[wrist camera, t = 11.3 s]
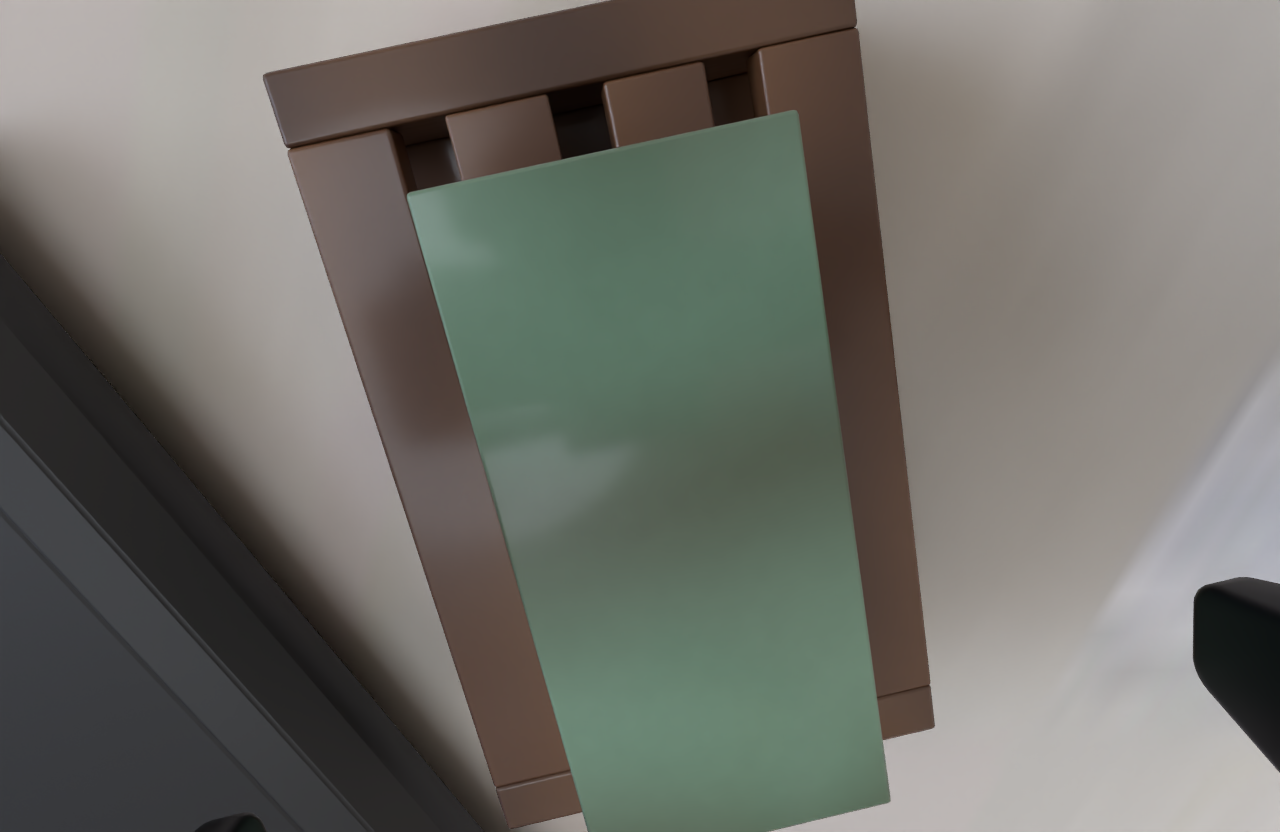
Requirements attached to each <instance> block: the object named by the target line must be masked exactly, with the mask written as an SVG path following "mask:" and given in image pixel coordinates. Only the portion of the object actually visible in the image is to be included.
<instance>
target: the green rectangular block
mask: <svg viewBox="0 0 1280 832" xmlns="http://www.w3.org/2000/svg"><path fill="white" fill-rule="evenodd" d="M407 201H408V204H409V208H410V211H411V215H412V218H413V222H414V225H415V229H416V232H417V236H418V239H419V243H420V246H421V250H422V253H423V257H424V260H425V264H426V267H427V271H428V274H429V278H430V281H431V285H432V288H433V292H434V295H435V299H436V302H437V306H438V309H439V313H440V316H441V320H442V323H443V327H444V330H445V333H446V337H447V340H448V344H449V347H450V351H451V354H452V358H453V361H454V365H455V368H456V372H457V375H458V379H459V382H460V386H461V389H462V393H463V396H464V400H465V403H466V407H467V410H468V414H469V417H470V421H471V424H472V428H473V431H474V435H475V438H476V442H477V445H478V449H479V452H480V456H481V459H482V463H483V466H484V470H485V473H486V477H487V480H488V484H489V487H490V491H491V494H492V498H493V501H494V505H495V508H496V512H497V515H498V519H499V522H500V526H501V529H502V533H503V536H504V540H505V543H506V547H507V550H508V554H509V557H510V561H511V564H512V568H513V571H514V574H515V578H516V581H517V585H518V588H519V592H520V595H521V599H522V602H523V606H524V609H525V613H526V616H527V620H528V623H529V627H530V630H531V634H532V637H533V641H534V644H535V648H536V651H537V655H538V658H539V662H540V665H541V669H542V672H543V676H544V679H545V683H546V686H547V690H548V693H549V697H550V700H551V704H552V707H553V711H554V714H555V718H556V721H557V725H558V728H559V732H560V735H561V739H562V742H563V746H564V749H565V753H566V756H567V760H568V763H569V767H570V770H571V774H572V777H573V781H574V784H575V788H576V791H577V795H578V798H579V802H580V805H581V808H582V812H583V815H584V819H585V822H586V826H587V829H588V832H769V831H773V830H777V829H781V828H786V827H790V826H794V825H798V824H802V823H806V822H811V821H815V820H819V819H823V818H827V817H831V816H836V815H840V814H844V813H848V812H852V811H857V810H861V809H865V808H869V807H873V806H877V805H882V804H886V803H889V802H890V791H889V784H888V776H887V769H886V761H885V754H884V747H883V739H882V732H881V724H880V717H879V709H878V702H877V694H876V687H875V679H874V672H873V665H872V657H871V650H870V642H869V635H868V627H867V620H866V612H865V605H864V598H863V590H862V583H861V575H860V568H859V560H858V553H857V545H856V538H855V531H854V523H853V516H852V508H851V501H850V493H849V486H848V478H847V471H846V463H845V456H844V449H843V441H842V434H841V426H840V419H839V411H838V404H837V396H836V389H835V382H834V374H833V367H832V359H831V352H830V344H829V337H828V329H827V322H826V315H825V307H824V300H823V292H822V285H821V277H820V270H819V262H818V255H817V248H816V240H815V233H814V225H813V218H812V210H811V203H810V195H809V188H808V180H807V173H806V166H805V158H804V151H803V143H802V136H801V128H800V121H799V114H798V112H797V111H796V110H790V111H785V112H781V113H776V114H771V115H767V116H762V117H757V118H753V119H748V120H744V121H739V122H734V123H730V124H725V125H720V126H716V127H711V128H706V129H702V130H697V131H692V132H688V133H683V134H678V135H674V136H669V137H664V138H660V139H655V140H650V141H646V142H641V143H636V144H632V145H627V146H622V147H618V148H613V149H608V150H604V151H599V152H594V153H590V154H585V155H580V156H576V157H571V158H566V159H562V160H557V161H552V162H548V163H543V164H538V165H534V166H529V167H524V168H520V169H515V170H511V171H506V172H501V173H497V174H492V175H487V176H483V177H478V178H473V179H469V180H464V181H459V182H455V183H450V184H445V185H441V186H436V187H431V188H427V189H422V190H417V191H413V192H409V193H408V194H407Z"/></svg>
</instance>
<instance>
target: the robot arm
mask: <svg viewBox="0 0 1280 832" xmlns="http://www.w3.org/2000/svg"><path fill="white" fill-rule="evenodd" d="M1193 661H1194V665H1195V669H1196V671H1197V674H1198V676H1199V678H1200V680H1201V681H1202V683H1203V684H1204V686H1205V687H1206V688H1207V690H1208V691H1209V692H1210V693H1211V694H1212V695H1213V697H1214V698H1215V699H1216V700H1217V701H1218V702H1219V703H1220V705H1221V706H1222V707H1223V708H1224V709H1225V710H1226V712H1227V713H1228V714H1229V715H1230V716H1231V717H1232V718H1233V720H1234V721H1235V722H1236V723H1237V724H1238V725H1239V726H1240V728H1241V729H1242V730H1243V731H1244V732H1245V733H1246V734H1247V736H1248V737H1249V738H1250V739H1251V740H1252V741H1253V742H1254V744H1255V745H1256V746H1257V747H1258V748H1259V749H1260V750H1261V752H1262V753H1263V754H1264V755H1265V756H1266V757H1267V758H1268V760H1269V761H1270V762H1271V763H1272V764H1273V765H1274V766H1275V768H1276V769H1277V770H1278V771H1279V772H1280V584H1278V583H1273V582H1269V581H1264V580H1259V579H1255V578H1249V577H1238V578H1233V579H1229V580H1225V581H1220V582H1216V583H1212V584H1208V585H1205V586H1203V587H1202V588H1200V589H1199V590H1198V591H1197V593H1196V595H1195V597H1194V613H1193ZM194 832H267V831H266V829H265V826H264V824H263V822H262V821H261V819H260V818H259V817H258V816H257V815H256V814H254V813H250V812H244V813H239V814H235V815H231V816H227V817H222V818H218V819H214V820H211V821H208V822H206V823H204V824H203V825H201V826H200V827H199V828H198V829H196V830H195V831H194Z"/></svg>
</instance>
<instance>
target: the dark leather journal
mask: <svg viewBox="0 0 1280 832" xmlns="http://www.w3.org/2000/svg"><path fill="white" fill-rule="evenodd" d="M244 812H250V813H254V814H256V815H257V816H258V817H259V818H260V819H261V821H262V822H263V824H264V826H265V829H266V831H267V832H484V831H483V830H482V829H481V827H480V826H479V825H478V824H477V823H476V821H475V820H474V819H473V818H472V817H471V816H470V814H469V813H468V812H467V811H466V810H465V808H464V807H463V806H462V805H461V804H460V802H459V801H458V800H457V799H456V798H455V796H454V795H453V794H452V793H451V792H450V790H449V789H448V788H447V787H446V786H445V784H444V783H443V782H442V781H441V780H440V778H439V777H438V776H437V775H436V774H435V772H434V771H433V770H432V769H431V768H430V767H429V765H428V764H427V763H426V762H425V761H424V759H423V758H422V757H421V756H420V755H419V753H418V752H417V751H416V750H415V749H414V747H413V746H412V745H411V744H410V743H409V741H408V740H407V739H406V738H405V737H404V735H403V734H402V733H401V732H400V731H399V729H398V728H397V727H396V726H395V725H394V723H393V722H392V721H391V720H390V719H389V718H388V716H387V715H386V714H385V713H384V712H383V710H382V709H381V708H380V707H379V706H378V704H377V703H376V702H375V701H374V700H373V698H372V697H371V696H370V695H369V694H368V692H367V691H366V690H365V689H364V688H363V686H362V685H361V684H360V683H359V682H358V680H357V679H356V678H355V677H354V676H353V674H352V673H351V672H350V671H349V670H348V669H347V667H346V666H345V665H344V664H343V663H342V661H341V660H340V659H339V658H338V657H337V655H336V654H335V653H334V652H333V651H332V649H331V648H330V647H329V646H328V645H327V643H326V642H325V641H324V640H323V639H322V637H321V636H320V635H319V634H318V633H317V631H316V630H315V629H314V628H313V627H312V625H311V624H310V623H309V622H308V621H307V619H306V618H305V617H304V616H303V615H302V613H301V612H300V611H299V610H298V609H297V608H296V606H295V605H294V604H293V603H292V602H291V600H290V599H289V598H288V597H287V596H286V594H285V593H284V592H283V591H282V590H281V588H280V587H279V586H278V585H277V584H276V582H275V581H274V580H273V579H272V578H271V576H270V575H269V574H268V573H267V572H266V570H265V569H264V568H263V567H262V566H261V564H260V563H259V562H258V561H257V560H256V558H255V557H254V556H253V555H252V554H251V553H250V551H249V550H248V549H247V548H246V547H245V545H244V544H243V543H242V542H241V541H240V539H239V538H238V537H237V536H236V535H235V533H234V532H233V531H232V530H231V529H230V527H229V526H228V525H227V524H226V523H225V521H224V520H223V519H222V518H221V517H220V515H219V514H218V513H217V512H216V511H215V509H214V508H213V507H212V506H211V505H210V503H209V502H208V501H207V500H206V499H205V497H204V496H203V495H202V494H201V493H200V492H199V490H198V489H197V488H196V487H195V486H194V484H193V483H192V482H191V481H190V480H189V478H188V477H187V476H186V475H185V474H184V472H183V471H182V470H181V469H180V468H179V466H178V465H177V464H176V463H175V462H174V460H173V459H172V458H171V457H170V456H169V454H168V453H167V452H166V451H165V450H164V448H163V447H162V446H161V445H160V444H159V442H158V441H157V440H156V439H155V438H154V437H153V435H152V434H151V433H150V432H149V431H148V429H147V428H146V427H145V426H144V425H143V423H142V422H141V421H140V420H139V419H138V417H137V416H136V415H135V414H134V413H133V411H132V410H131V409H130V408H129V407H128V405H127V404H126V403H125V402H124V401H123V399H122V398H121V397H120V396H119V395H118V393H117V392H116V391H115V390H114V389H113V387H112V386H111V385H110V384H109V383H108V381H107V380H106V379H105V378H104V377H103V376H102V374H101V373H100V372H99V371H98V370H97V368H96V367H95V366H94V365H93V364H92V362H91V361H90V360H89V359H88V358H87V356H86V355H85V354H84V353H83V352H82V350H81V349H80V348H79V347H78V346H77V344H76V343H75V342H74V341H73V340H72V338H71V337H70V336H69V335H68V334H67V332H66V331H65V330H64V329H63V328H62V326H61V325H60V324H59V323H58V322H57V321H56V319H55V318H54V317H53V316H52V315H51V313H50V312H49V311H48V310H47V309H46V307H45V306H44V305H43V304H42V303H41V301H40V300H39V299H38V298H37V297H36V295H35V294H34V293H33V292H32V291H31V289H30V288H29V287H28V286H27V285H26V283H25V282H24V281H23V280H22V279H21V277H20V276H19V275H18V274H17V273H16V271H15V270H14V269H13V268H12V267H11V265H10V264H9V263H8V262H7V261H6V260H5V258H4V257H3V256H2V255H1V254H0V832H194V831H195V830H196V829H198V828H199V827H200V826H201V825H203V824H204V823H206V822H208V821H211V820H214V819H218V818H222V817H227V816H231V815H235V814H239V813H244Z"/></svg>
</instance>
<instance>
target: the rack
mask: <svg viewBox="0 0 1280 832" xmlns="http://www.w3.org/2000/svg"><path fill="white" fill-rule="evenodd" d="M856 24H857V17H856V8H855V0H609V1H604V2H599V3H595V4H590V5H585V6H580V7H576V8H571V9H566V10H562V11H557V12H552V13H547V14H543V15H538V16H533V17H528V18H524V19H519V20H514V21H509V22H505V23H500V24H495V25H491V26H486V27H481V28H476V29H472V30H467V31H462V32H457V33H453V34H448V35H443V36H438V37H434V38H429V39H424V40H420V41H415V42H410V43H405V44H401V45H396V46H391V47H386V48H382V49H377V50H372V51H368V52H363V53H358V54H353V55H349V56H344V57H339V58H334V59H330V60H325V61H320V62H315V63H311V64H306V65H301V66H297V67H292V68H287V69H282V70H278V71H273V72H268V73H266V74H264V75H263V81H264V84H265V87H266V90H267V93H268V96H269V99H270V102H271V105H272V108H273V111H274V114H275V117H276V120H277V123H278V126H279V129H280V132H281V136H282V139H283V142H284V144H285V146H286V147H287V148H291V149H290V150H288V157H289V160H290V163H291V166H292V169H293V172H294V175H295V178H296V181H297V184H298V188H299V191H300V194H301V197H302V200H303V203H304V206H305V209H306V212H307V215H308V218H309V221H310V224H311V227H312V230H313V233H314V236H315V239H316V243H317V246H318V249H319V252H320V255H321V258H322V261H323V264H324V267H325V270H326V273H327V276H328V279H329V282H330V285H331V288H332V291H333V294H334V297H335V301H336V304H337V307H338V310H339V313H340V316H341V319H342V322H343V325H344V328H345V331H346V334H347V337H348V340H349V343H350V346H351V349H352V352H353V355H354V359H355V362H356V365H357V368H358V371H359V374H360V377H361V380H362V383H363V386H364V389H365V392H366V395H367V398H368V401H369V404H370V407H371V410H372V414H373V417H374V420H375V423H376V426H377V429H378V432H379V435H380V438H381V441H382V444H383V447H384V450H385V453H386V456H387V459H388V462H389V465H390V468H391V472H392V475H393V478H394V481H395V484H396V487H397V490H398V493H399V496H400V499H401V502H402V505H403V508H404V511H405V514H406V517H407V520H408V523H409V527H410V530H411V533H412V536H413V539H414V542H415V545H416V548H417V551H418V554H419V557H420V560H421V563H422V566H423V569H424V572H425V575H426V578H427V581H428V585H429V588H430V591H431V594H432V597H433V600H434V603H435V606H436V609H437V612H438V615H439V618H440V621H441V624H442V627H443V630H444V633H445V636H446V639H447V643H448V646H449V649H450V652H451V655H452V658H453V661H454V664H455V667H456V670H457V673H458V676H459V679H460V682H461V685H462V688H463V691H464V694H465V698H466V701H467V704H468V707H469V710H470V713H471V716H472V719H473V722H474V725H475V728H476V731H477V734H478V737H479V740H480V743H481V746H482V749H483V752H484V756H485V759H486V762H487V765H488V768H489V771H490V774H491V777H492V780H493V783H494V785H495V786H496V792H497V795H498V798H499V801H500V804H501V807H502V810H503V813H504V816H505V819H506V822H507V825H508V827H509V828H510V829H513V828H518V827H522V826H526V825H530V824H534V823H539V822H543V821H547V820H551V819H555V818H560V817H564V816H568V815H572V814H576V813H580V812H582V808H581V805H580V802H579V798H578V795H577V791H576V788H575V784H574V781H573V777H572V774H571V770H570V767H569V763H568V760H567V756H566V753H565V749H564V746H563V742H562V739H561V735H560V732H559V728H558V725H557V721H556V718H555V714H554V711H553V707H552V704H551V700H550V697H549V693H548V690H547V686H546V683H545V679H544V676H543V672H542V669H541V665H540V662H539V658H538V655H537V651H536V648H535V644H534V641H533V637H532V634H531V630H530V627H529V623H528V620H527V616H526V613H525V609H524V606H523V602H522V599H521V595H520V592H519V588H518V585H517V581H516V578H515V574H514V571H513V568H512V564H511V561H510V557H509V554H508V550H507V547H506V543H505V540H504V536H503V533H502V529H501V526H500V522H499V519H498V515H497V512H496V508H495V505H494V501H493V498H492V494H491V491H490V487H489V484H488V480H487V477H486V473H485V470H484V466H483V463H482V459H481V456H480V452H479V449H478V445H477V442H476V438H475V435H474V431H473V428H472V424H471V421H470V417H469V414H468V410H467V407H466V403H465V400H464V396H463V393H462V389H461V386H460V382H459V379H458V375H457V372H456V368H455V365H454V361H453V358H452V354H451V351H450V347H449V344H448V340H447V337H446V333H445V330H444V327H443V323H442V320H441V316H440V313H439V309H438V306H437V302H436V299H435V295H434V292H433V288H432V285H431V281H430V278H429V274H428V271H427V267H426V264H425V260H424V257H423V253H422V250H421V246H420V243H419V239H418V236H417V232H416V229H415V225H414V222H413V218H412V215H411V211H410V208H409V204H408V201H407V194H408V193H409V192H413V191H417V190H422V189H427V188H431V187H436V186H441V185H445V184H450V183H455V182H459V181H464V180H469V179H473V178H478V177H483V176H487V175H492V174H497V173H501V172H506V171H511V170H515V169H520V168H524V167H529V166H534V165H538V164H543V163H548V162H552V161H557V160H562V159H566V158H571V157H576V156H580V155H585V154H590V153H594V152H599V151H604V150H608V149H613V148H618V147H622V146H627V145H632V144H636V143H641V142H646V141H650V140H655V139H660V138H664V137H669V136H674V135H678V134H683V133H688V132H692V131H697V130H702V129H706V128H711V127H716V126H720V125H725V124H730V123H734V122H739V121H744V120H748V119H753V118H757V117H762V116H767V115H771V114H776V113H781V112H785V111H790V110H796V111H797V112H798V114H799V121H800V128H801V136H802V143H803V151H804V158H805V166H806V173H807V180H808V188H809V195H810V203H811V210H812V218H813V225H814V233H815V240H816V248H817V255H818V262H819V270H820V277H821V285H822V292H823V300H824V307H825V315H826V322H827V329H828V337H829V344H830V352H831V359H832V367H833V374H834V382H835V389H836V396H837V404H838V411H839V419H840V426H841V434H842V441H843V449H844V456H845V463H846V471H847V478H848V486H849V493H850V501H851V508H852V516H853V523H854V531H855V538H856V545H857V553H858V560H859V568H860V575H861V583H862V590H863V598H864V605H865V612H866V620H867V627H868V635H869V642H870V650H871V657H872V665H873V672H874V679H875V687H876V694H877V702H878V709H879V717H880V724H881V732H882V739H883V740H886V739H891V738H895V737H899V736H903V735H907V734H911V733H916V732H920V731H924V730H928V729H932V728H934V726H935V723H934V714H933V705H932V696H931V687H930V685H929V684H930V674H929V665H928V656H927V647H926V638H925V629H924V620H923V611H922V602H921V593H920V584H919V575H918V566H917V557H916V548H915V539H914V530H913V521H912V512H911V502H910V493H909V484H908V475H907V466H906V457H905V448H904V439H903V430H902V421H901V412H900V403H899V394H898V385H897V376H896V367H895V358H894V349H893V340H892V331H891V322H890V313H889V303H888V294H887V285H886V276H885V267H884V258H883V249H882V240H881V231H880V222H879V213H878V204H877V195H876V186H875V177H874V168H873V159H872V150H871V141H870V132H869V123H868V113H867V104H866V95H865V86H864V77H863V68H862V59H861V50H860V41H859V32H858V29H856V28H854V27H855V26H856Z"/></svg>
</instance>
